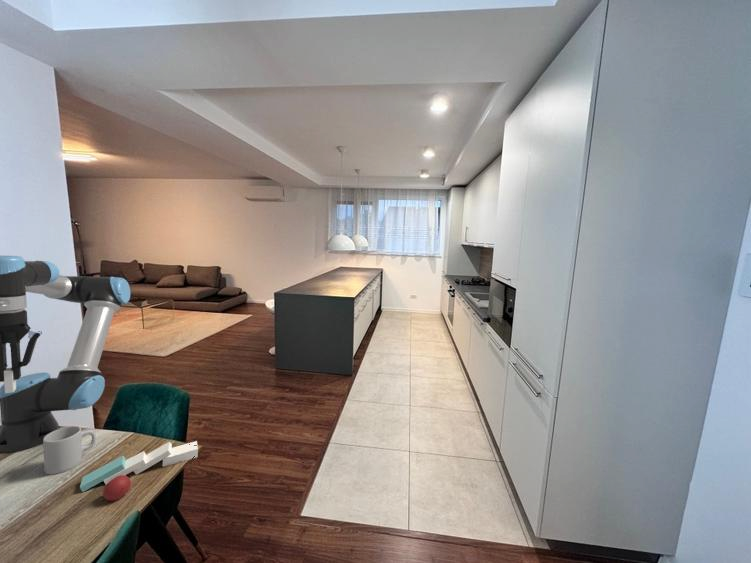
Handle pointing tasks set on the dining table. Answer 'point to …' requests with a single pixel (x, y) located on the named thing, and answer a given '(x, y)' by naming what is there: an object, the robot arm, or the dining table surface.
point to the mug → (64, 449)
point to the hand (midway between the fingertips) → (10, 390)
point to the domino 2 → (130, 465)
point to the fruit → (117, 488)
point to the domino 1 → (102, 473)
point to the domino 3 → (155, 457)
